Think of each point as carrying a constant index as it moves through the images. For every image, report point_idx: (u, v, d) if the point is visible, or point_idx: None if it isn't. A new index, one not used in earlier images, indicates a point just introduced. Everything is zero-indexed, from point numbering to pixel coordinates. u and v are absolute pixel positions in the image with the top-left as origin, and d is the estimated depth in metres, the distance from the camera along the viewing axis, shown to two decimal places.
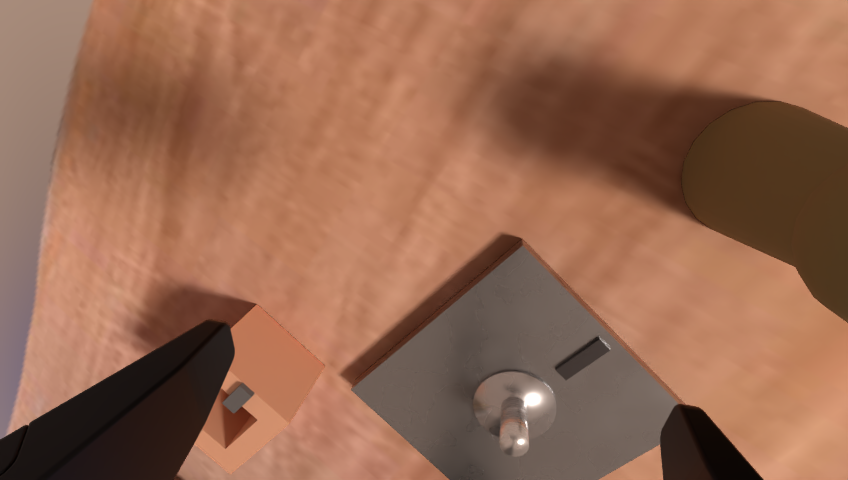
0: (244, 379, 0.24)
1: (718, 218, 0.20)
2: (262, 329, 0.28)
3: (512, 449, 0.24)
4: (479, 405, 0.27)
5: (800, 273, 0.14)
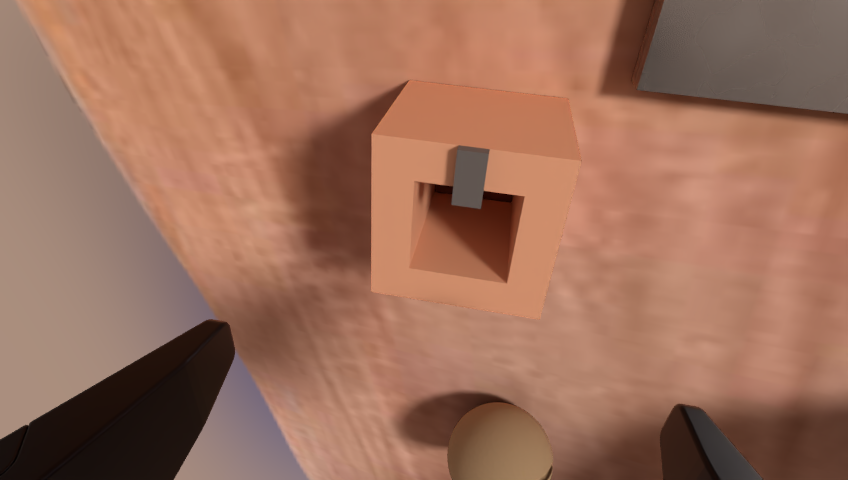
0: (459, 141, 0.13)
1: None
2: (438, 97, 0.16)
3: None
4: None
5: None
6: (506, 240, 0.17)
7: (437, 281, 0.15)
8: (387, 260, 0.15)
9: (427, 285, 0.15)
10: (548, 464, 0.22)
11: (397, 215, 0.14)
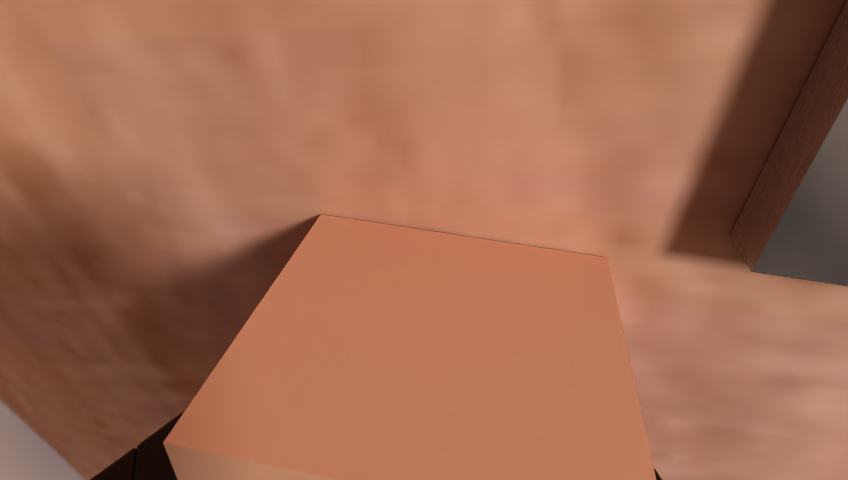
0: (370, 465, 0.05)
1: None
2: (364, 263, 0.08)
3: None
4: None
5: None
6: None
7: None
8: None
9: None
10: None
11: None
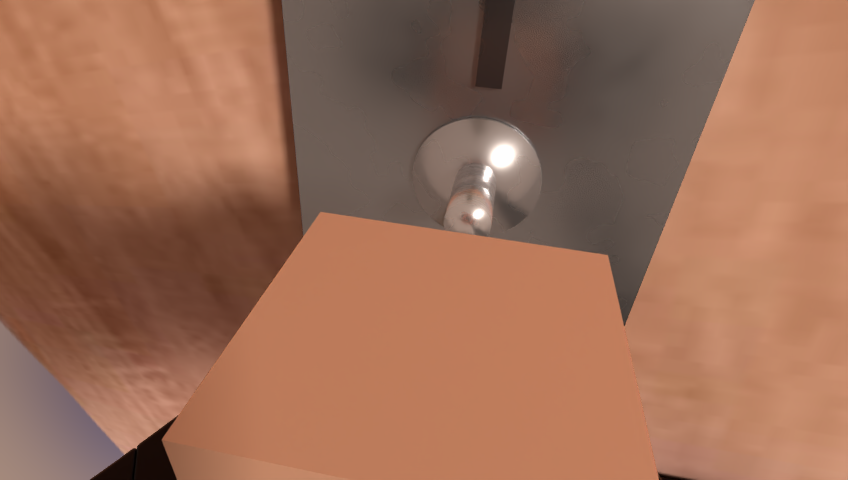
0: (369, 462, 0.05)
1: None
2: (364, 260, 0.08)
3: (471, 232, 0.15)
4: (436, 210, 0.18)
5: None
6: None
7: None
8: None
9: None
10: None
11: None
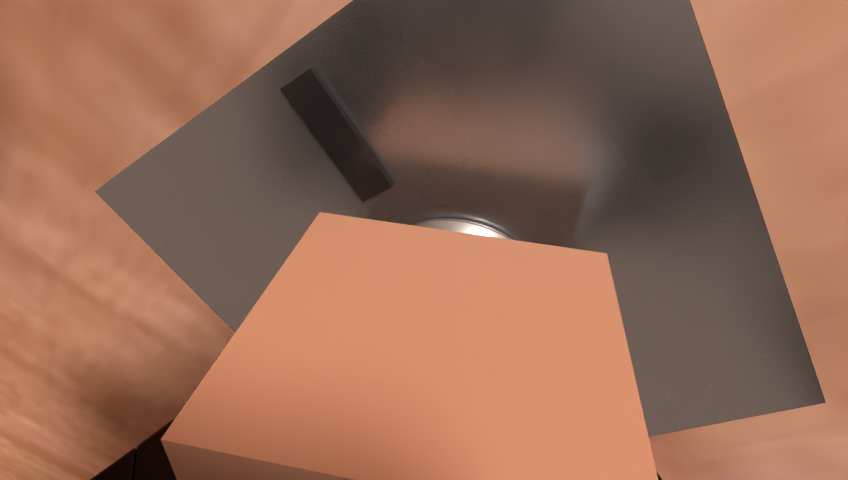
0: (368, 462, 0.05)
1: None
2: (363, 260, 0.08)
3: None
4: None
5: None
6: None
7: None
8: None
9: None
10: None
11: None
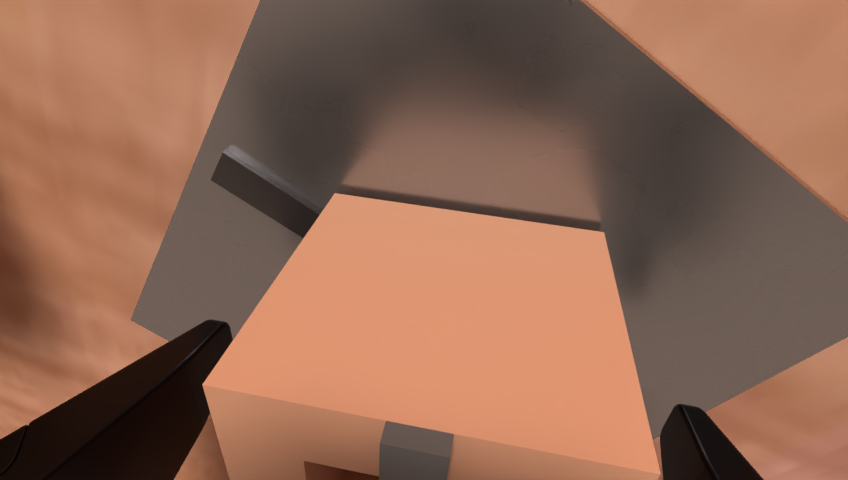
0: (389, 404, 0.06)
1: None
2: (376, 236, 0.09)
3: None
4: None
5: None
6: None
7: None
8: None
9: None
10: None
11: None
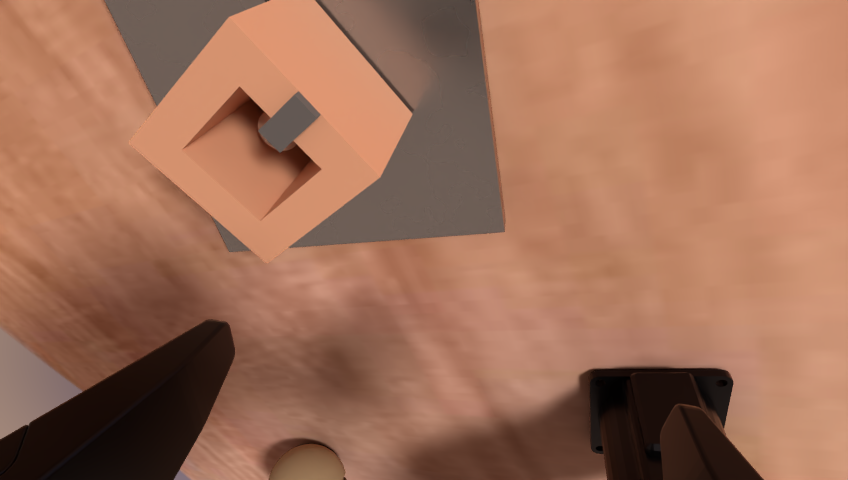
0: (301, 87, 0.13)
1: None
2: (316, 27, 0.16)
3: None
4: None
5: None
6: (286, 183, 0.17)
7: (200, 178, 0.15)
8: (165, 128, 0.14)
9: (188, 175, 0.15)
10: None
11: (202, 100, 0.13)
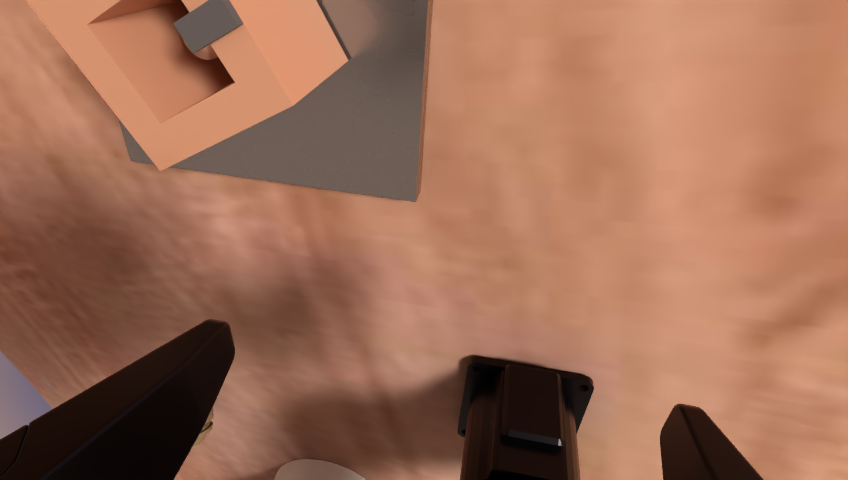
0: None
1: None
2: None
3: (208, 45, 0.15)
4: None
5: None
6: (201, 96, 0.17)
7: (102, 61, 0.14)
8: None
9: (90, 54, 0.14)
10: None
11: None
